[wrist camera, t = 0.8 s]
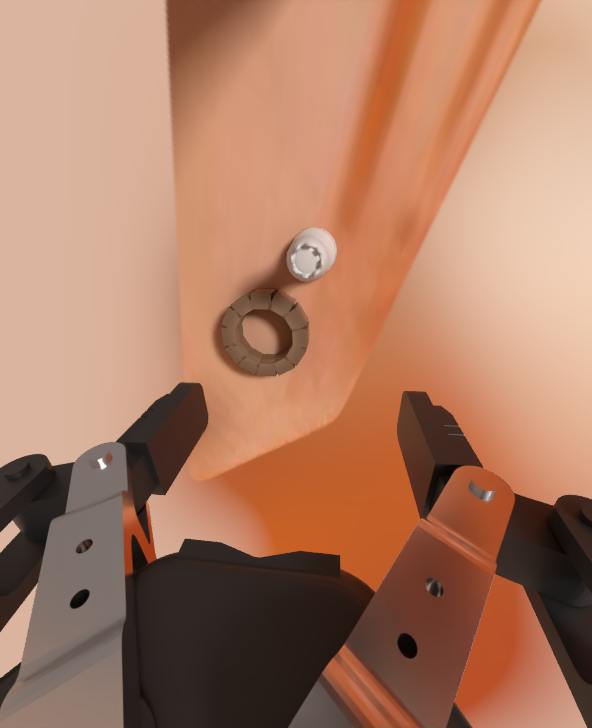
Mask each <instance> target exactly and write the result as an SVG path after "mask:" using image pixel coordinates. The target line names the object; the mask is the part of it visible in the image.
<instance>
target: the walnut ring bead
mask: <svg viewBox="0 0 592 728" xmlns="http://www.w3.org/2000/svg"><path fill="white" fill-rule="evenodd" d="M295 300H296V299H294V298H292V297H290V296H289V295H287V294H285V293H283V292H282V291H280V290H278V292H277V293H275V289H256V290H255V291H253V290H252V291H251V292H249V293H248V294H246V295H244V296H243V297H241V298H240V299H238V300H237V301H235V302H234V303H233V304H232V305H231V306H230V307H229V308H228V310H227V312H226V314H225V317H224V319H223V321H222V325H223V326H222V327H221V333H222V340H223V346H227V347H226V348H225V350H226V351H227V353H228V354H229V355H230V357H231V358H232V359H233V361H234V362H235V364H236V363H238V362H240V361H241V362H240V364H239V367H241V368H243V369H245V370H247V371H248V372H250V373H252V374H254V375H255V373H256V371H258V376H276V374H277V373H278V375H281V374H283V373H285V372H287V371H289V370H291V369H293V368H295V365H298V363H299V362H300V360H301V358H302V357H303V355H304V354H305V352H306V349H307V346H308V341H309V322H307V320H308V318H307V316H306V314H305V312H304V311H303V309H302V307H301V306H300V304H299V302H298V303H296V304H294V302H295ZM293 304H294V305H293ZM253 309H270V310H272V311H273V312H275V313H277V314H279V315H280V316H282V317H284V319H285V320H286V322H287V323H288V325H289V327H290V328H291V330H292V341H293V342H292V344H291V346H290V347H289V349H287V350H285V351H283V352H281V353H279V354H278V355H273V354H262V353H260V352H259V351H257V350H255V349H253V348H251V346H250V345H249V343H248V342H247V341H246V339H245V338H244V336H243V328H242V321H243V319H244V317H245V315H246V314H247V313H248V312H250V311H251V310H253Z"/></svg>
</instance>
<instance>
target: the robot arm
mask: <svg viewBox="0 0 592 728" xmlns="http://www.w3.org/2000/svg"><path fill="white" fill-rule="evenodd" d="M207 424H208V411H207V407H206V402H205V397H204V393H203V388H202V386H201V384H200V383H184V382H182V383H179V384H178V385H177V386H176V387H175V388H174V389H173V391H172V392H171V393H170V394H166V395H165V396H163V397H161V398H160V399H158V400H156V401H155V402H154V403H153V404H152V405H151V406H150V407H149V408H148V410H147V411H145V413H143V414H142V416H141V418H139V419H138V420H137V421H136V422H135V423H134V424H133V425H132V426H131V427H130V428H129V429H128V430H127V431H126V432H125V433H124V434H123V435H122V436H121V437H120V438H119V439H118V440H117V441H116V442H109V443H104V444H101V445H98V446H95V447H93V448H91V449H90V450H88V451H86V452H85V453H83V454H82V455H81V456H80V457H79V458H78V459H77V460H76V462H73V463H67V464H62V465H56V466H52V465H51V463H50V462H49V460H48V458H47V457H46V456H45V455H42V454H33V455H28V456H24V457H22V458H19V459H16V460H14V461H12V462H10V463H8V464H6V465H4V466H3V467H1V468H0V532H1V531H2V530H3V529H4V528H5V527H6V526H7V525H8V524H9V523H10V522H11V521H12V520H13V521H14V522H15V524H16V525H17V527H18V528H19V529H20V530H21V531H20V533H19V534H18V535H17V536H16V537H15V538H14V539H13V540H12V541H11V542H10V543H9V544H8V545H7V546H6V548H4V549H3V551H2V552H1V553H0V632H1V630H2V629H3V628H4V626H5V625H6V624H7V622H8V621H9V620H10V619H11V617H12V616H13V614H14V613H15V612H16V611H17V609H18V608H19V607H20V605H21V604H22V603H23V601H24V600H25V599H26V598H27V596H28V595H29V594H30V592H31V591H32V590H33V588H34V587H35V586H36V584H37V583H38V585H37V590H36V594H35V599H34V604H33V609H32V614H31V618H30V623H29V629H28V633H27V638H26V643H25V648H24V652H23V657H22V662H20V663H19V664H18V665H17V666H15V667H14V668H13V669H12V670H10V671H9V672H8V673H6V674H5V675H4V676H3V677H1V678H0V728H472V726H471V725H470V724H469V722H468V721H467V719H466V718H465V716H464V715H463V714H462V712H461V711H460V709H459V708H458V706H457V705H456V704H455V702H454V701H455V698H456V695H457V692H458V688H459V685H460V682H461V678H462V676H463V672H464V669H465V666H466V663H467V660H468V657H469V654H470V651H471V647H472V644H473V641H474V638H475V635H476V631H477V628H478V625H479V622H480V619H481V616H482V613H483V609H484V606H485V603H486V600H487V597H488V594H489V590H490V587H491V584H492V581H493V578H494V575H495V574H497V575H499V576H501V577H504V578H506V579H508V580H511V581H513V582H516V583H518V584H521V585H523V587H524V589H525V591H526V594H527V596H528V598H529V600H530V602H531V604H532V607H533V609H534V611H535V613H536V616H537V618H538V620H539V622H540V624H541V627H542V629H543V631H544V633H545V635H546V637H547V640H548V642H549V644H550V646H551V648H552V651H553V653H554V655H555V657H556V660H557V662H558V664H559V666H560V668H561V670H562V673H563V675H564V677H565V679H566V682H567V684H568V686H569V688H570V690H571V692H572V695H573V697H574V699H575V701H576V704H577V706H578V708H579V710H580V712H581V715H582V717H583V719H584V721H585V723H586V726H587V728H592V499H589V498H586V497H582V496H577V495H564V496H561V497H560V498H558V500H557V501H556V503H555V504H554V506H553V505H549V504H546V503H543V502H539V501H536V500H533V499H530V498H526V497H523V496H520V495H518V494H515V493H514V492H513V490H512V489H511V487H510V486H509V485H508V484H507V482H506V481H504V480H503V479H502V478H501V477H500V476H498V475H497V474H495V473H493V472H491V471H489V470H487V469H484V468H483V466H482V464H481V463H480V461H479V459H478V458H477V456H476V454H475V452H474V451H473V449H472V448H471V446H470V444H469V442H468V441H467V439H466V437H465V436H464V434H463V432H462V431H461V429H460V428H459V427H458V424H457V422H456V420H455V419H454V417H453V415H452V414H450V413H449V412H448V411H447V410H446V409H444V408H443V407H442V406H433V404H432V403H431V401H430V399H429V397H428V395H427V393H426V392H416V391H404V392H403V395H402V400H401V406H400V412H399V418H398V424H397V434H398V441H399V445H400V448H401V451H402V455H403V459H404V462H405V466H406V469H407V473H408V476H409V479H410V484H411V487H412V491H413V494H414V498H415V501H416V505H417V508H418V512H419V515H420V519H421V520H420V521H419V522H418V524H417V526H416V527H415V529H414V531H413V532H412V534H411V535H410V537H409V539H408V540H407V542H406V544H405V545H404V547H403V549H402V550H401V552H400V554H399V555H398V557H397V558H396V560H395V562H394V563H393V565H392V567H391V568H390V570H389V572H388V573H387V575H386V577H385V578H384V580H383V581H382V583H381V585H380V586H379V588H378V590H377V591H376V592H374V591H373V590H372V589H371V588H370V587H369V586H368V585H367V584H365V583H364V582H363V581H361V580H360V579H359V578H357V577H355V576H354V575H352V574H350V573H348V572H346V571H344V570H341V569H340V555H332V554H323V553H313V552H304V551H297V552H291V553H285V554H279V555H273V556H268V557H262V558H258V557H253V556H251V555H249V554H246V553H244V552H242V551H239V550H237V549H235V548H233V547H230V546H228V545H226V544H223V543H221V542H212V541H202V540H193V539H185V540H184V542H183V544H182V546H181V548H180V550H179V552H177V553H173V554H169V555H166V556H164V557H161V558H159V559H156V554H155V548H154V541H153V533H152V526H151V517H150V510H149V505H148V502H147V500H148V498H149V497H150V496H151V494H156V495H166V493H167V491H168V490H169V488H170V486H171V485H172V483H173V481H174V480H175V478H176V476H177V475H178V473H179V472H180V470H181V468H182V467H183V465H184V463H185V462H186V460H187V459H188V457H189V455H190V454H191V452H192V450H193V449H194V447H195V445H196V444H197V442H198V441H199V439H200V437H201V436H202V434H203V432H204V431H205V429H206V427H207Z"/></svg>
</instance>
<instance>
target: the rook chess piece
mask: <svg viewBox="0 0 592 728" xmlns="http://www.w3.org/2000/svg"><path fill="white" fill-rule="evenodd" d="M336 253H337V249H336V244H335V240H334V239H333V238H332V236H331V235H330V233H328V232H327V231H325V230H324V229H322V228H317V227H310V228H307V229H304V230H302V231H301V232H300V233H299V234H298V235H297V236H295V238H294V240H293V242H292V244H291V245H290V247H289V250H288V252H287V258H286V263H287V266H288V270H289V271H290V273H291V274H292V275H293V276H294V277H295V278H297V279H298V280H300V281H304V282H312V281H315V280H318V279H319V278H320V277H322V276H323V275H324V274H325V273H326V272H327V271H328V270H330V269H331V267H332V265H333V264H334V262H335V260H336Z"/></svg>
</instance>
